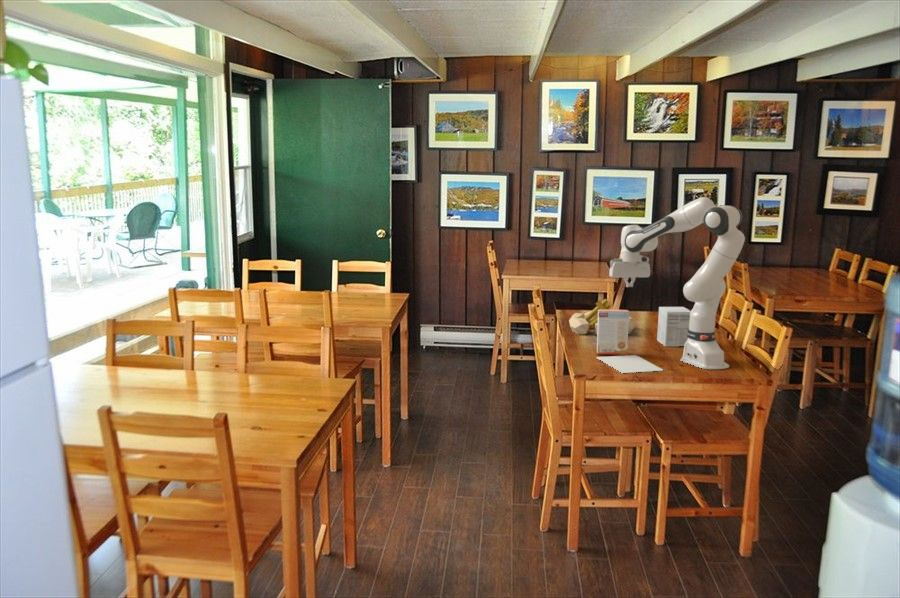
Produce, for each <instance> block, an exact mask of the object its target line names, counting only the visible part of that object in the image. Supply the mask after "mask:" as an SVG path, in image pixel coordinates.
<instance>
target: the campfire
mask: <svg viewBox="0 0 900 598" xmlns="http://www.w3.org/2000/svg"><path fill="white" fill-rule="evenodd" d="M595 305H596V306H595V307H594V308H593V309H592V310H590V311H587V312H585V313H581V312H575V313H573V314H572V315H571V317H570V318H569V320H568V322H569V327H570V329H571V331H572V333H574V332H575V333H574V334H576V333H577V334H576V335H579V334H581V335H586V334H587V333H588V331H589V330H590V329H594V328H595V333H596V334H597V324H598V309H611V307H612V306H613V303H611V302H610V301H608V300H607V299H606V298H604V299H603V300H602V301H601V300H598V301H597V302H596V303H595ZM633 319H634V318H633V317H631V316H630V315H629V328H628V334H629V335H630V334H631V333H632V331H634V329H635V325H634V323H633Z"/></svg>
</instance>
